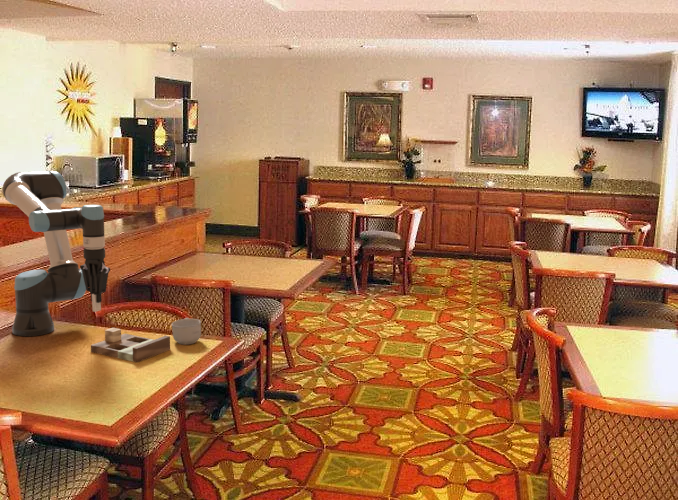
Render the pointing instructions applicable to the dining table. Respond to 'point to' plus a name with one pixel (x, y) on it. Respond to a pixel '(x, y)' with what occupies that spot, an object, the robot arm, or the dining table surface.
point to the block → (112, 334)
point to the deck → (132, 347)
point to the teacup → (186, 331)
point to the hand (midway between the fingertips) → (96, 310)
